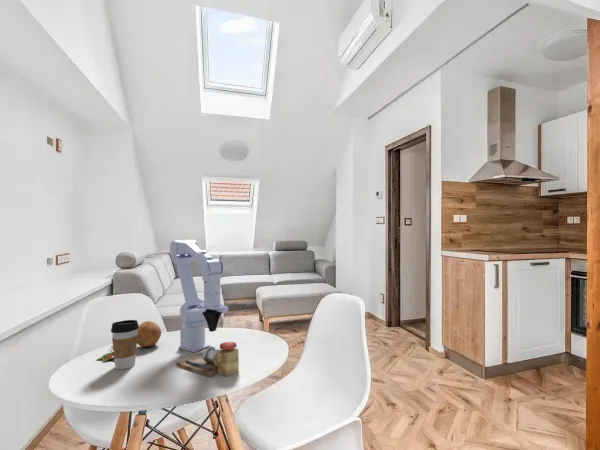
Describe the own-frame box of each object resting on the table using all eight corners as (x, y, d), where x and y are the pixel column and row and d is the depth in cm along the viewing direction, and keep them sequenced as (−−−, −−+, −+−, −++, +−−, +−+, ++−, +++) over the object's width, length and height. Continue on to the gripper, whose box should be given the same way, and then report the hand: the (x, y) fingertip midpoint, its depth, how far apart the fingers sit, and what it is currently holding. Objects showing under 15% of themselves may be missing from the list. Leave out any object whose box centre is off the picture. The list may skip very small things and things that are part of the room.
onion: (167, 343, 130) (166, 319, 130) (146, 352, 121) (146, 325, 121) (149, 341, 134) (149, 317, 134) (128, 349, 125) (128, 323, 125)
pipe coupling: (200, 361, 105) (205, 345, 107) (211, 362, 109) (216, 347, 110) (212, 365, 101) (217, 348, 103) (223, 366, 105) (228, 350, 107)
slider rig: (176, 365, 107) (176, 339, 108) (203, 354, 117) (202, 330, 117) (220, 381, 95) (220, 351, 95) (246, 367, 104) (246, 341, 104)
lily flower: (87, 363, 113) (87, 350, 113) (114, 351, 124) (114, 339, 124) (116, 365, 110) (116, 352, 110) (141, 352, 122) (141, 340, 122)
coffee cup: (104, 369, 106) (104, 323, 106) (126, 359, 114) (126, 317, 114) (123, 372, 103) (123, 325, 103) (144, 362, 111) (144, 319, 111)
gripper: (190, 293, 116) (190, 330, 115) (217, 296, 107) (217, 337, 107) (205, 290, 122) (206, 325, 121) (232, 293, 113) (233, 331, 113)
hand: (212, 330), depth 114 cm, fingers closed
